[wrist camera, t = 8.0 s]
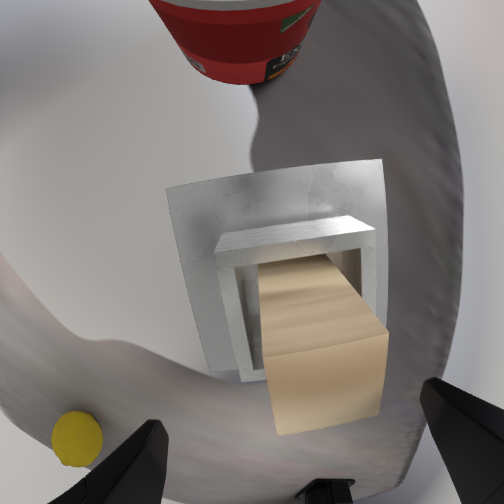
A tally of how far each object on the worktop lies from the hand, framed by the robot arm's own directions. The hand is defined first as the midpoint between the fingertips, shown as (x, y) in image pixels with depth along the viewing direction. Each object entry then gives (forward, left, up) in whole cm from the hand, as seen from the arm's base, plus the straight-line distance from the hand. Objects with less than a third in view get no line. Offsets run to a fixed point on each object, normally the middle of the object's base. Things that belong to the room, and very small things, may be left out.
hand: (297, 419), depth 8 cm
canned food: (+15, +8, -13) cm, 21 cm away
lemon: (-23, +12, -13) cm, 29 cm away
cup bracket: (+1, -1, -13) cm, 13 cm away
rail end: (+1, -1, -10) cm, 10 cm away
